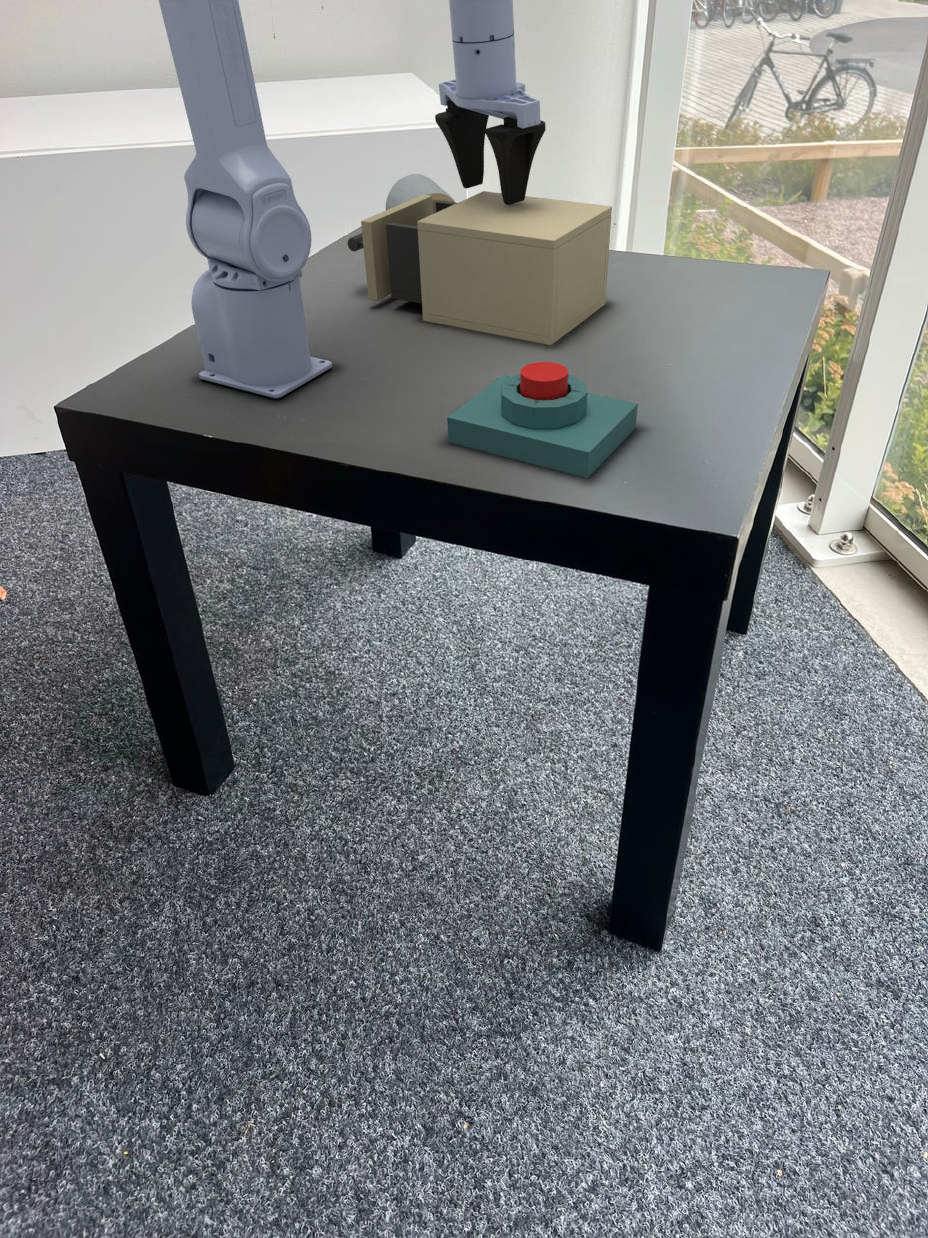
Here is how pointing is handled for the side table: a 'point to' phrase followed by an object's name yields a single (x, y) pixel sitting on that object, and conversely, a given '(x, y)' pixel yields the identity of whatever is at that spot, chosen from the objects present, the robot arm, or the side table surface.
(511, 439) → the panel
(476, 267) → the tan drawer box
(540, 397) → the button
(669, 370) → the side table surface
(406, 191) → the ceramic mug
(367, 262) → the pulled-out drawer
